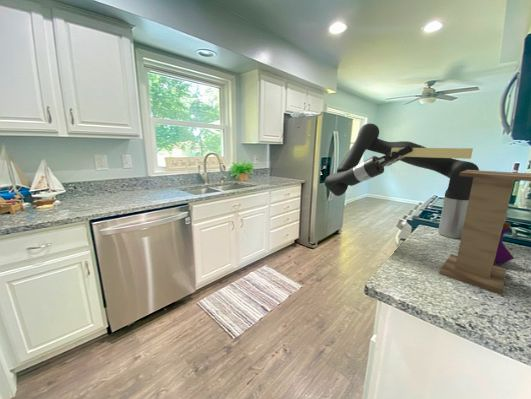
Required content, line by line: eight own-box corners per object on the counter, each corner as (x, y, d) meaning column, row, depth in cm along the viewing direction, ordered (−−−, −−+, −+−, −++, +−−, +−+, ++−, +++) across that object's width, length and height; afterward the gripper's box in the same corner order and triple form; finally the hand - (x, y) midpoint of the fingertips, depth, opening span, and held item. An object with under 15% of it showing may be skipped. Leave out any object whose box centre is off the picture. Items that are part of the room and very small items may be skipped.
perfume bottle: (512, 267, 76) (526, 215, 72) (486, 265, 78) (498, 214, 74) (495, 257, 83) (507, 209, 79) (471, 255, 85) (482, 208, 81)
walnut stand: (450, 257, 83) (468, 169, 76) (505, 273, 73) (532, 173, 65) (438, 273, 72) (458, 173, 65) (501, 294, 62) (532, 177, 55)
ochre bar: (393, 155, 86) (394, 147, 85) (470, 158, 70) (472, 148, 69) (390, 156, 84) (391, 147, 83) (469, 158, 68) (471, 148, 67)
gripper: (356, 161, 88) (401, 137, 75) (372, 160, 97) (415, 138, 84) (363, 179, 87) (411, 158, 74) (379, 176, 96) (424, 156, 83)
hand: (413, 148), depth 79 cm, fingers closed on ochre bar, 3 cm apart
